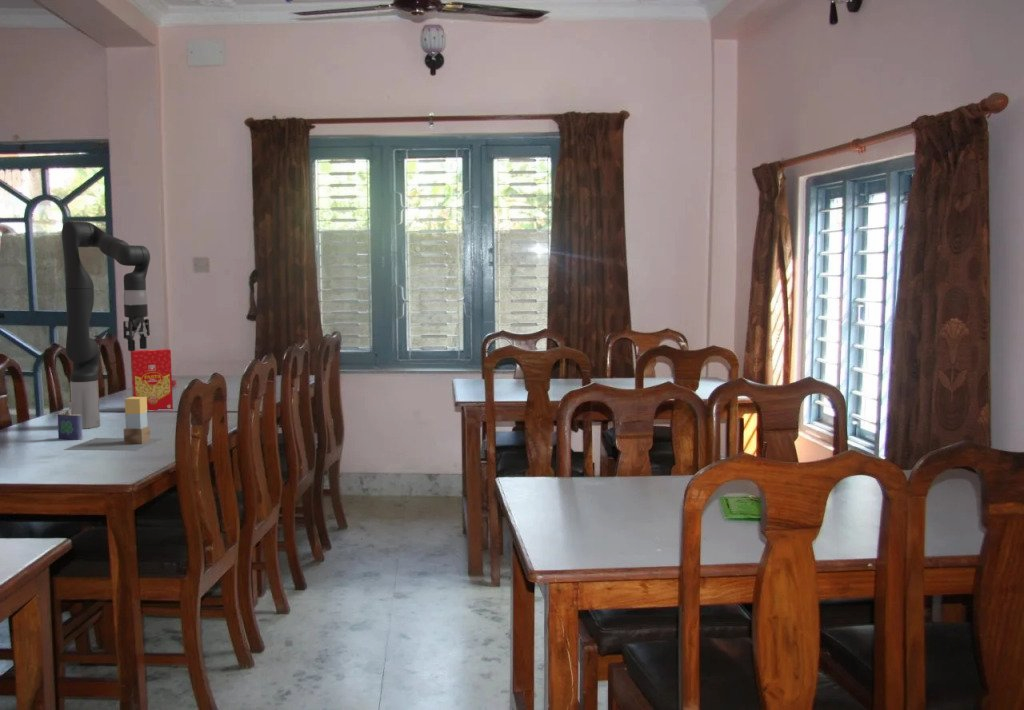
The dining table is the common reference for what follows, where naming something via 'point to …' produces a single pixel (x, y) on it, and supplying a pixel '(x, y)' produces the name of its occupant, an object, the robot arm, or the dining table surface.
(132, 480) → the dining table surface
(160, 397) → the food packaging
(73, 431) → the flask
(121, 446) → the slate mat
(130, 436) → the tower base
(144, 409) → the ochre block
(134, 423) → the tower mid
